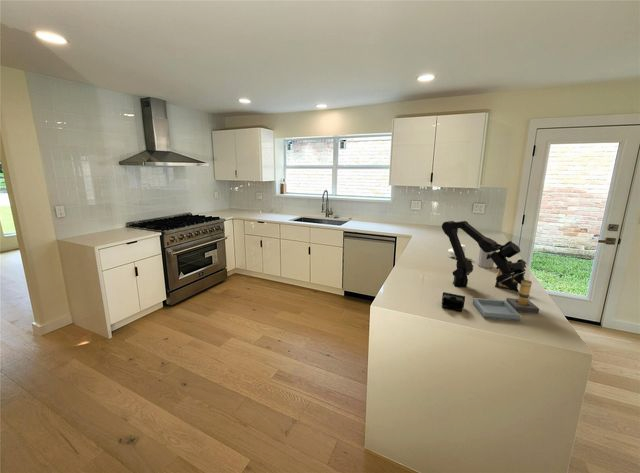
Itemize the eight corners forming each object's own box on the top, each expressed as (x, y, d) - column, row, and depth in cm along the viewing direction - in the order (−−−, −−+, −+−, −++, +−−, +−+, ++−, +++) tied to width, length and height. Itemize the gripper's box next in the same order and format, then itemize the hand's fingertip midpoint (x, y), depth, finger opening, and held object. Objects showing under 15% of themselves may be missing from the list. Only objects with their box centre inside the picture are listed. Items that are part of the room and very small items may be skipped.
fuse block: (515, 311, 137) (516, 306, 137) (505, 302, 147) (506, 297, 146) (538, 313, 136) (539, 308, 135) (527, 304, 145) (528, 299, 145)
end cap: (463, 307, 142) (465, 294, 140) (463, 313, 136) (464, 300, 134) (442, 302, 146) (443, 290, 145) (440, 308, 140) (441, 295, 139)
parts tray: (483, 318, 131) (484, 312, 130) (472, 303, 145) (473, 297, 145) (519, 321, 129) (520, 315, 128) (504, 305, 143) (505, 300, 142)
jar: (488, 264, 205) (492, 240, 201) (495, 269, 196) (499, 243, 191) (474, 263, 206) (478, 239, 202) (480, 268, 196) (484, 243, 192)
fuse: (518, 309, 140) (524, 282, 136) (514, 305, 144) (519, 279, 140) (528, 310, 139) (533, 283, 136) (523, 306, 143) (529, 280, 140)
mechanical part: (444, 256, 224) (446, 241, 221) (455, 254, 229) (457, 240, 226) (456, 260, 214) (458, 245, 211) (467, 258, 219) (469, 243, 216)
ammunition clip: (494, 287, 166) (498, 267, 163) (495, 286, 167) (498, 266, 165) (517, 291, 160) (520, 271, 157) (516, 290, 162) (520, 270, 159)
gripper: (506, 257, 136) (528, 287, 129) (524, 251, 146) (546, 278, 139) (487, 268, 144) (507, 296, 137) (505, 262, 154) (525, 288, 147)
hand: (522, 289), depth 140 cm, fingers open, 9 cm apart
